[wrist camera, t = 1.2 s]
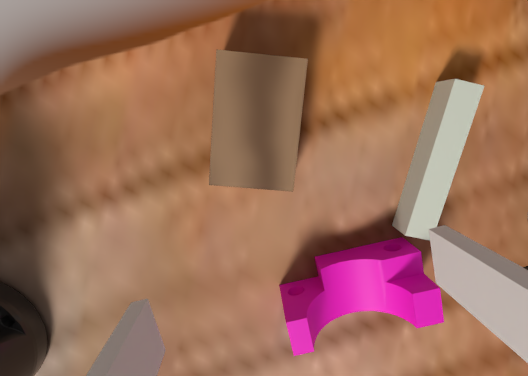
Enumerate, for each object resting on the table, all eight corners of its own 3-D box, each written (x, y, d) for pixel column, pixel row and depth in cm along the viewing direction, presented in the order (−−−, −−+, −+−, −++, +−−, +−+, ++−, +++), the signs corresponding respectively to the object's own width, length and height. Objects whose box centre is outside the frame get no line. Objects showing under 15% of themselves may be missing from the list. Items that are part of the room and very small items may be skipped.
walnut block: (214, 175, 36) (208, 185, 31) (221, 59, 34) (216, 49, 29) (287, 181, 37) (293, 191, 32) (299, 66, 34) (307, 58, 29)
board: (390, 224, 38) (405, 235, 35) (434, 82, 35) (455, 78, 32) (415, 229, 39) (432, 240, 35) (461, 88, 35) (484, 85, 32)
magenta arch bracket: (401, 236, 39) (437, 264, 31) (408, 284, 40) (443, 322, 33) (274, 264, 39) (280, 299, 31) (285, 312, 40) (293, 355, 33)
